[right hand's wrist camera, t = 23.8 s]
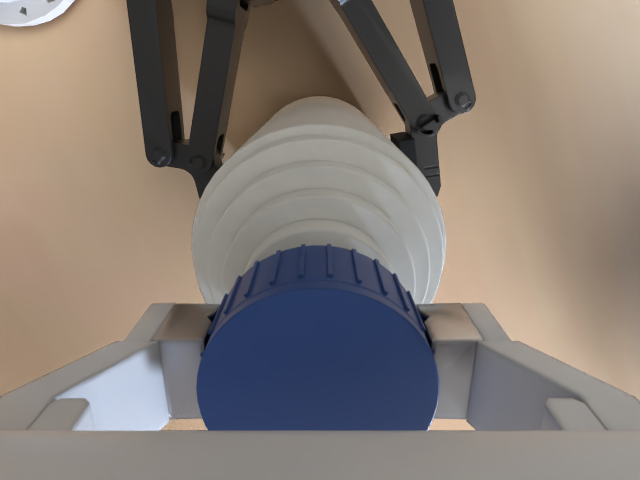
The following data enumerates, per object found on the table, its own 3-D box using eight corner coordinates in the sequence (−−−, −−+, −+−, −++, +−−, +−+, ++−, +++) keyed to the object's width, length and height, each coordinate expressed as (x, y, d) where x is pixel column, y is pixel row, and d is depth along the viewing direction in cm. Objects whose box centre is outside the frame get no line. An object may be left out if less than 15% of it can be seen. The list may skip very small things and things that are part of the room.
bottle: (407, 142, 29) (626, 319, 8) (337, 242, 31) (371, 575, 11) (298, 69, 28) (233, 63, 7) (234, 180, 30) (38, 428, 9)
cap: (175, 341, 10) (142, 403, 8) (310, 196, 9) (308, 230, 7) (323, 447, 11) (324, 524, 9) (461, 330, 10) (494, 390, 8)
